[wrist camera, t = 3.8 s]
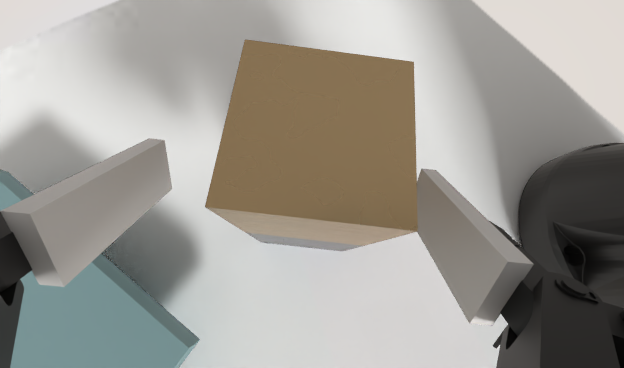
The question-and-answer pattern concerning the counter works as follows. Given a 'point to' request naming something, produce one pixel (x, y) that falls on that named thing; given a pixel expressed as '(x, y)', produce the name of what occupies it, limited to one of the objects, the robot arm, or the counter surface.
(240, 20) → the counter surface
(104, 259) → the teal stand
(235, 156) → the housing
